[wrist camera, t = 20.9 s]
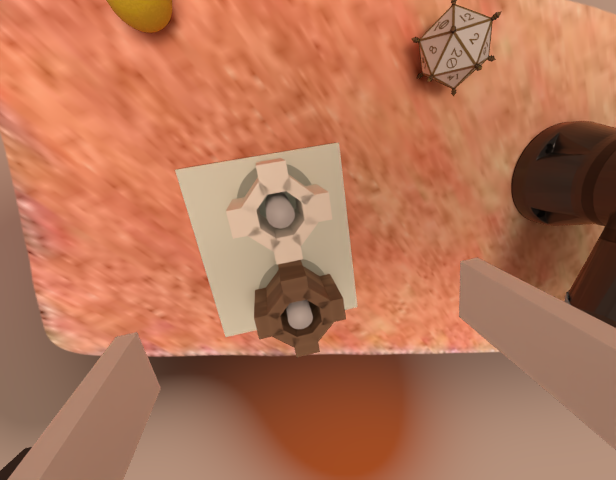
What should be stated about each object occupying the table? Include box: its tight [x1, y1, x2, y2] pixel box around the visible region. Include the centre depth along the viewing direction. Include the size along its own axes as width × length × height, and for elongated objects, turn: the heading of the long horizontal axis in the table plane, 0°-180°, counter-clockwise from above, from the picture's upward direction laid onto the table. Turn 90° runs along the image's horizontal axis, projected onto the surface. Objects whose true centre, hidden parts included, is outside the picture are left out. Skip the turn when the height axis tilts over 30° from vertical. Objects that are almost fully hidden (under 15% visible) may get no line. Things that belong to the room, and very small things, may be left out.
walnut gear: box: [254, 260, 346, 357], centre depth 38 cm, size 11×11×7 cm
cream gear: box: [226, 158, 332, 265], centre depth 33 cm, size 11×11×7 cm
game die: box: [412, 0, 502, 96], centre depth 33 cm, size 9×8×10 cm
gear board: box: [175, 143, 357, 337], centre depth 36 cm, size 20×24×9 cm
